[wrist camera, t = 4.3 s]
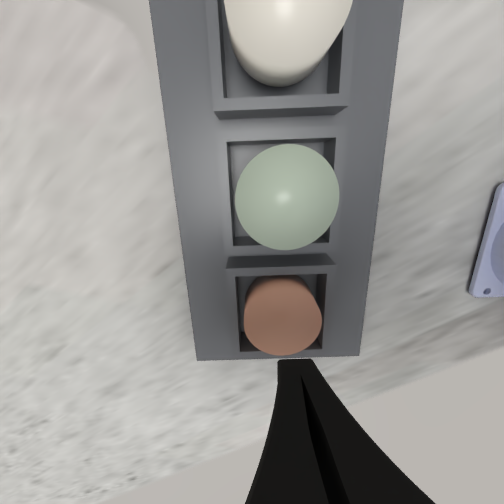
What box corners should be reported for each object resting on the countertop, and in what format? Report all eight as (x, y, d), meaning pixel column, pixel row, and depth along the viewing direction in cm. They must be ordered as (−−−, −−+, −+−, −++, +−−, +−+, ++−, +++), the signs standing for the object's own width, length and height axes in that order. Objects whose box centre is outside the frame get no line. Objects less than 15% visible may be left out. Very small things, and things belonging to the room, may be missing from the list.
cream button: (336, -45, 10) (362, -112, 7) (329, 84, 11) (349, 62, 9) (225, -40, 10) (217, -105, 7) (232, 89, 11) (227, 67, 9)
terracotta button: (313, 269, 15) (324, 287, 13) (310, 329, 17) (319, 354, 14) (243, 272, 15) (241, 290, 13) (246, 331, 17) (245, 356, 14)
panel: (396, -69, 12) (453, -162, 9) (351, 342, 19) (371, 377, 16) (150, -57, 12) (112, -144, 9) (200, 346, 20) (190, 383, 16)
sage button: (325, 147, 12) (343, 141, 10) (321, 235, 13) (335, 248, 11) (235, 150, 12) (231, 146, 10) (240, 237, 13) (237, 251, 11)
